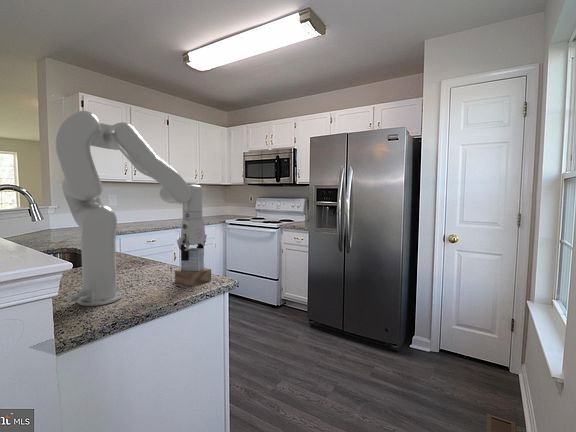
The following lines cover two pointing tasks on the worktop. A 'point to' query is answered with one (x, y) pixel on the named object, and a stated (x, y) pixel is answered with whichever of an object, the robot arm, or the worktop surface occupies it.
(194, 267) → the medicine box
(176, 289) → the worktop surface
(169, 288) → the worktop surface
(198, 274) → the walnut block
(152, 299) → the worktop surface
